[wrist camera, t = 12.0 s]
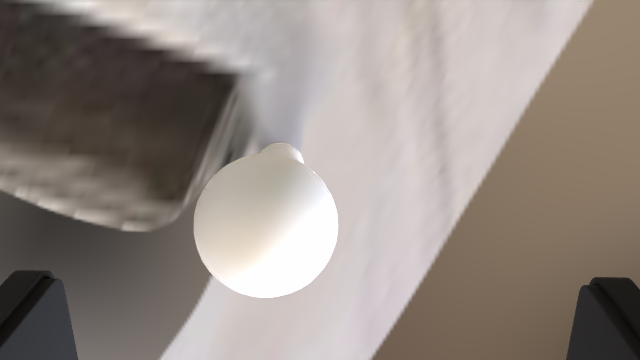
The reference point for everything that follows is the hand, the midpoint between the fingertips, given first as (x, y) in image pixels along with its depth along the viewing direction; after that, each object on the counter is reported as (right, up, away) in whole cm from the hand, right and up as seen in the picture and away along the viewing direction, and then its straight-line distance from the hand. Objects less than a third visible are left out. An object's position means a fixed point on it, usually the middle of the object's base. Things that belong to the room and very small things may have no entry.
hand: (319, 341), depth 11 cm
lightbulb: (-2, +4, +22) cm, 23 cm away
